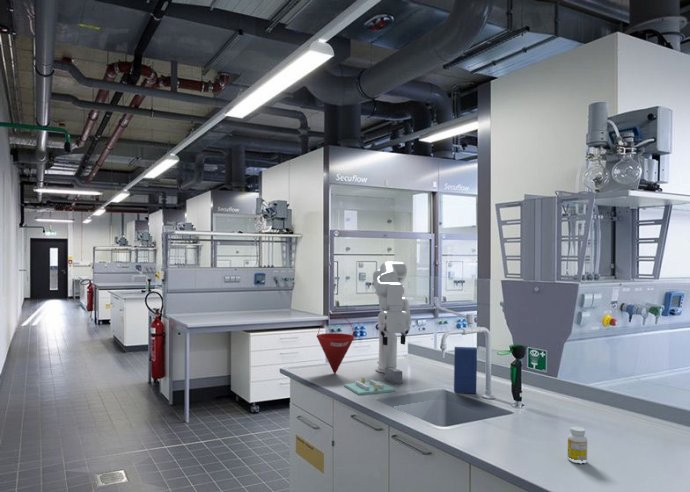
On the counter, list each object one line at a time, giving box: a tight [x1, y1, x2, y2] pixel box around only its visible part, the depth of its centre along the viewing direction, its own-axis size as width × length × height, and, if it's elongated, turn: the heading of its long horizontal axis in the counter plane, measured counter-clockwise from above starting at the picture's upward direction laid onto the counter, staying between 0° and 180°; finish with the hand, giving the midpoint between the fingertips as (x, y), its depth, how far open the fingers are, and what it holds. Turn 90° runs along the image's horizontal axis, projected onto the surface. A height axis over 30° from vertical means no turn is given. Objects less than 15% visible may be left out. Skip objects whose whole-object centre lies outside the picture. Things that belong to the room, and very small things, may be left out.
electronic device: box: [453, 346, 478, 395], centre depth 229 cm, size 10×5×20 cm, turn 84°
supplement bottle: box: [567, 426, 588, 461], centre depth 152 cm, size 5×5×10 cm
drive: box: [384, 367, 403, 385], centre depth 245 cm, size 10×4×6 cm, turn 24°
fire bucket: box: [316, 314, 356, 374], centre depth 260 cm, size 22×20×30 cm
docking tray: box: [343, 376, 396, 396], centre depth 231 cm, size 16×18×4 cm
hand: (394, 344), depth 245 cm, fingers open, 9 cm apart
